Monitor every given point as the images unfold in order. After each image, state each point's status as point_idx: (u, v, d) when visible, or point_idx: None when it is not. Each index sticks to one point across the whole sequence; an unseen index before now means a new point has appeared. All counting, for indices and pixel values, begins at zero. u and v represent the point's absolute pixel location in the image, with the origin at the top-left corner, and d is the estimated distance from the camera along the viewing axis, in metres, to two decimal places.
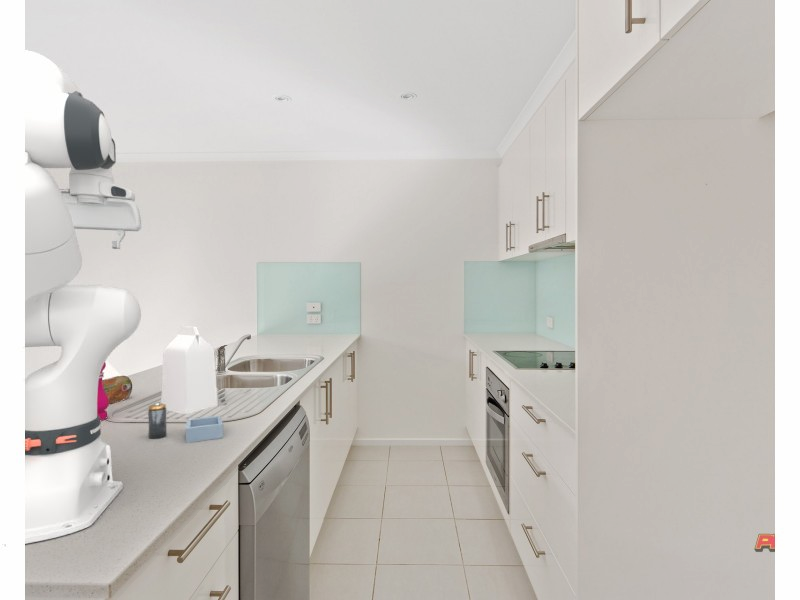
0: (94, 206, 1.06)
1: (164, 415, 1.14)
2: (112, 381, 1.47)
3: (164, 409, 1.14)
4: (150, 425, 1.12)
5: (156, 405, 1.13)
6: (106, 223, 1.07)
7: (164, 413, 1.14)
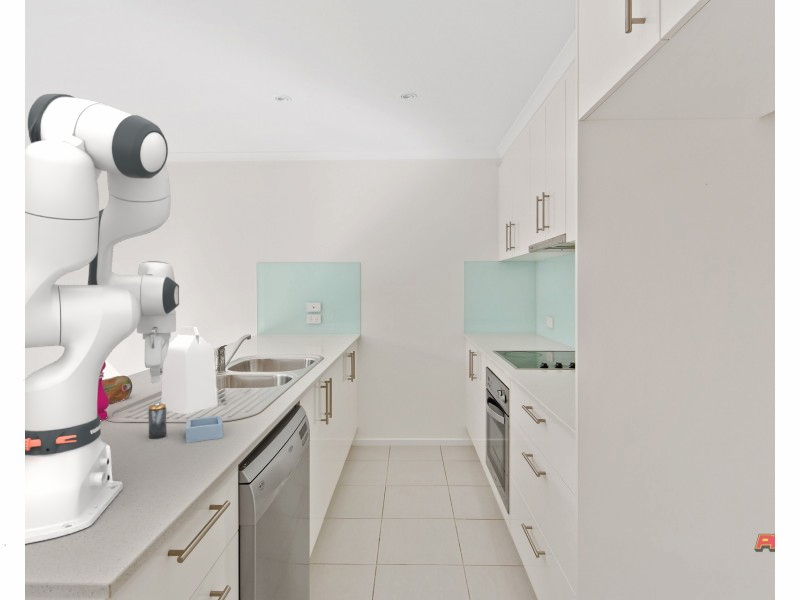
0: None
1: (164, 415, 1.14)
2: (112, 381, 1.47)
3: (165, 409, 1.14)
4: (150, 425, 1.12)
5: (156, 405, 1.13)
6: None
7: (164, 413, 1.14)
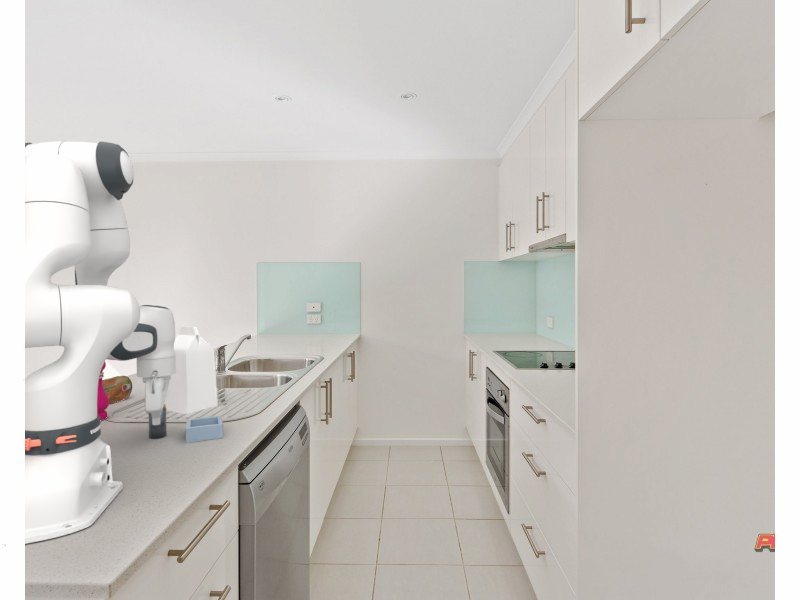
0: None
1: (164, 415, 1.14)
2: (112, 381, 1.47)
3: (165, 409, 1.14)
4: (150, 425, 1.12)
5: None
6: None
7: (164, 413, 1.14)
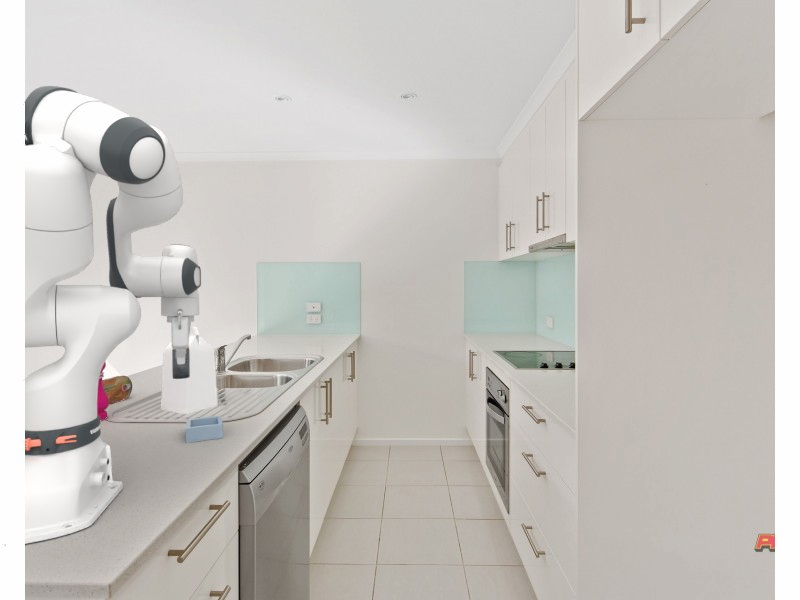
0: None
1: (188, 356, 1.14)
2: (112, 381, 1.47)
3: (188, 350, 1.14)
4: (174, 365, 1.13)
5: None
6: None
7: (188, 354, 1.14)
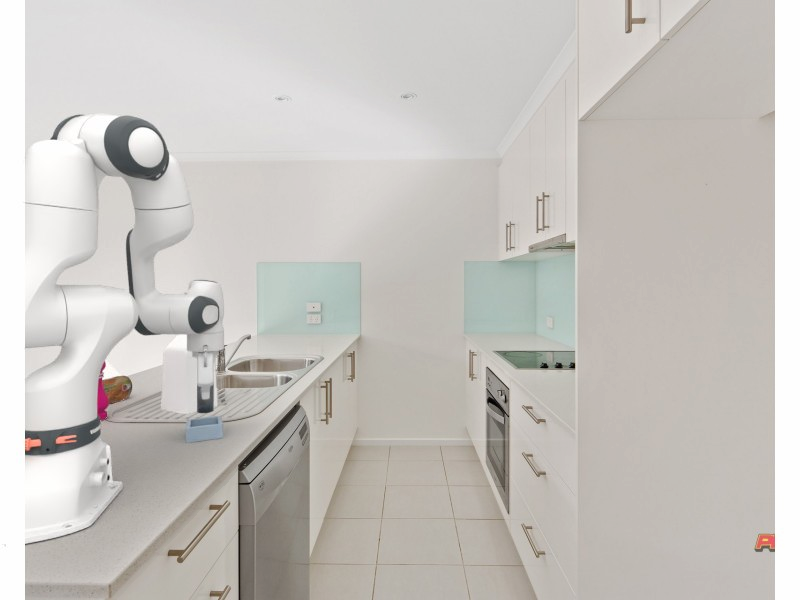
0: None
1: (212, 390, 1.15)
2: (112, 381, 1.47)
3: None
4: (199, 399, 1.13)
5: None
6: None
7: (212, 388, 1.15)
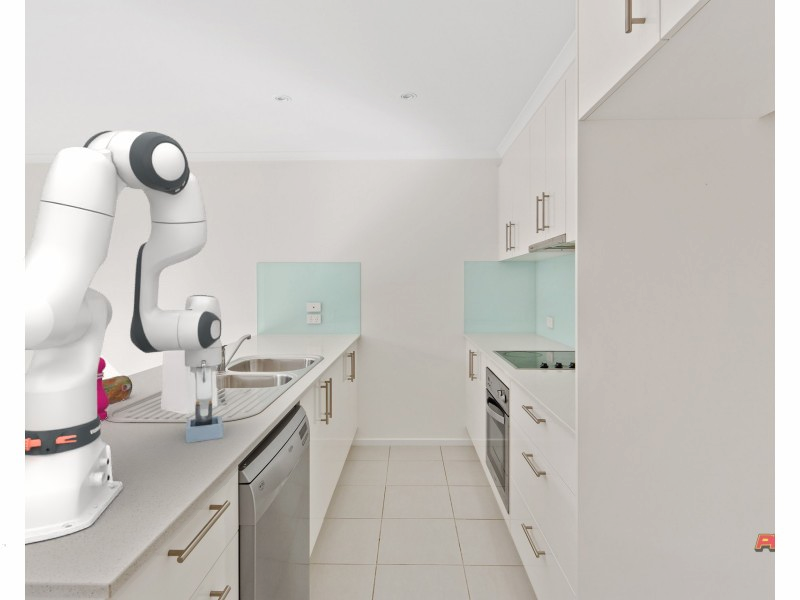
0: None
1: (210, 410, 1.15)
2: (112, 381, 1.47)
3: (211, 405, 1.15)
4: (197, 420, 1.13)
5: None
6: None
7: (210, 408, 1.15)
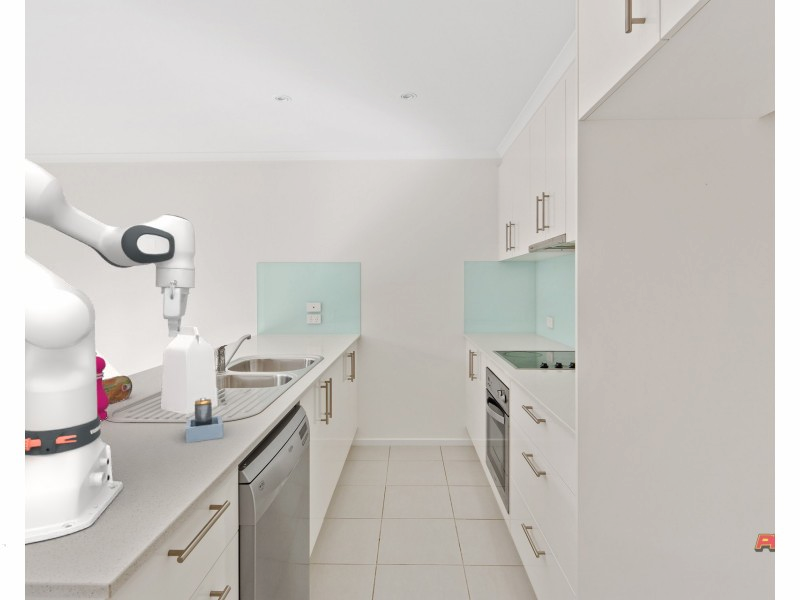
0: None
1: (210, 410, 1.15)
2: (112, 381, 1.47)
3: (210, 404, 1.15)
4: (196, 420, 1.13)
5: (202, 400, 1.14)
6: None
7: (210, 408, 1.15)
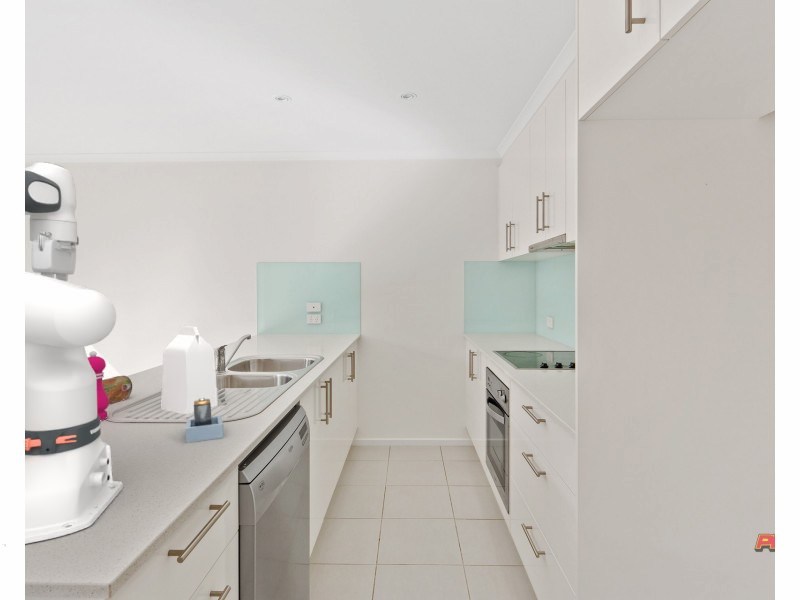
0: (63, 251, 1.06)
1: (209, 410, 1.14)
2: (112, 381, 1.47)
3: (209, 404, 1.14)
4: (196, 420, 1.13)
5: (201, 400, 1.14)
6: (67, 268, 1.09)
7: (209, 408, 1.14)
